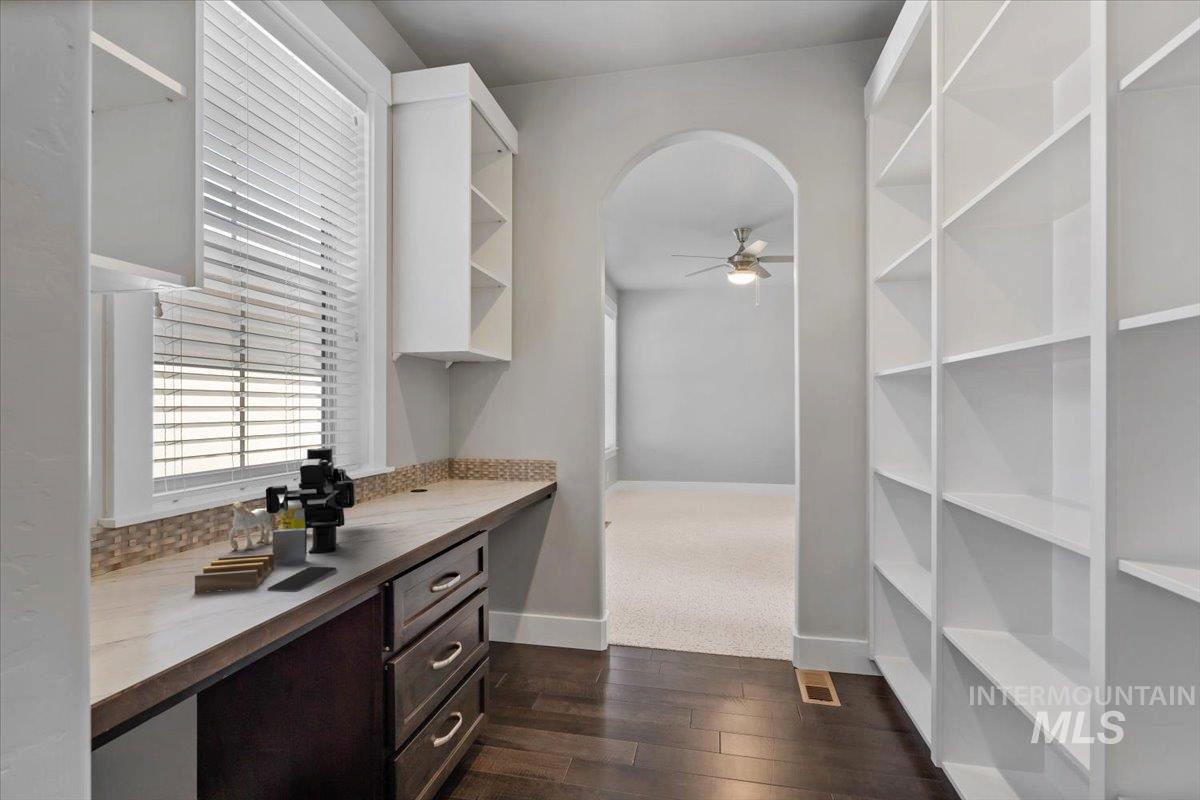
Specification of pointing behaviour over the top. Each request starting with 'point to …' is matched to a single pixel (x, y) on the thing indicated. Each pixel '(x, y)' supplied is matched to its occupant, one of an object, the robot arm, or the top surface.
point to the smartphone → (303, 579)
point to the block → (290, 546)
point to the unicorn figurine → (251, 524)
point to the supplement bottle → (293, 516)
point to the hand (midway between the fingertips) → (304, 504)
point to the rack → (235, 572)
